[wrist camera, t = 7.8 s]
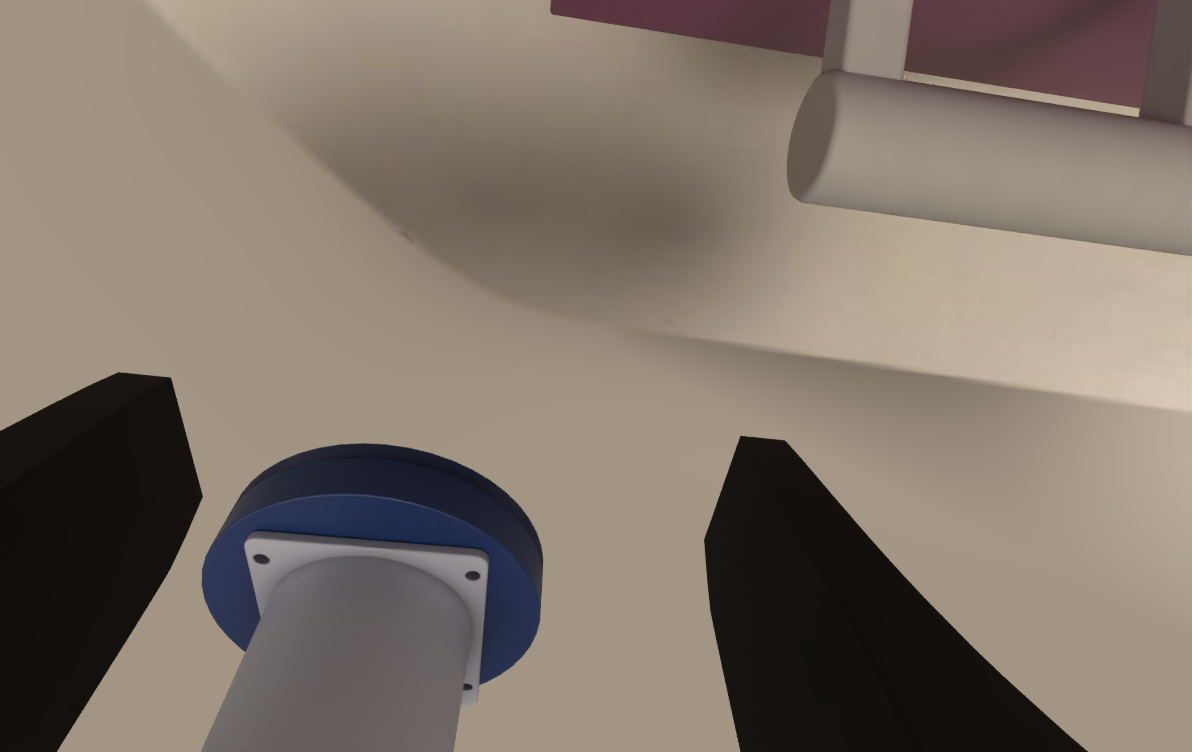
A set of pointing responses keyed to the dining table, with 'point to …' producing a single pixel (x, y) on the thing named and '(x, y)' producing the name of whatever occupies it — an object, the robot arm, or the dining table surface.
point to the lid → (976, 107)
